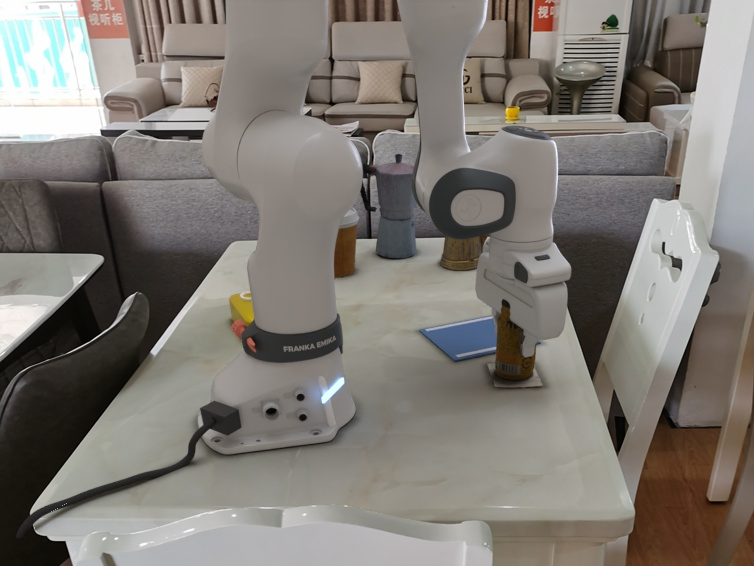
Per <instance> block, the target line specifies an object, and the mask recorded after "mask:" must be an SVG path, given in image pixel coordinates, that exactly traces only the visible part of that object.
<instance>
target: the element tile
mask: <svg viewBox="0 0 754 566" xmlns="http://www.w3.org/2000/svg"><path fill="white" fill-rule="evenodd" d="M228 303H229V309H230V316H231V321H232V322H233V323H234V322H235V321H236V320H242V321H244V322H245V323H246V325H247V326H248V325H249V324H250V323H251V322H252V321H253V319H254V314H253V307H252V300H251V293H250V290H249V291H244V292H240V293H235V294H234V293H233V294H231V295H230V296H229V298H228Z"/></svg>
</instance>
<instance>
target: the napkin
mask: <svg viewBox="0 0 754 566" xmlns="http://www.w3.org/2000/svg"><path fill="white" fill-rule="evenodd" d="M418 331H419V333H421V334H422V335H423V336H424V337H425V338H427V339H428V340H429V341H430V342H431V343H433V345H435V346H436V347H437V348H438V349H440V351H442V352H443V353H444V354H445V355H446V356H448V357H449V358H450V359H451V360H452V361H453V362H455V363H456V362H460V361H465V360H469V359H474V358H479V357H484V356H489V355H492V354H496V343H497V336H495V324H494V320H493V316H492V315H488V316H482V317H477V318H472V319H467V320H462V321H458V322H457V321H456V322H452V323H446V324H441V325H436V326H430V327H425V328H421V329H419V330H418ZM540 344H542V341H541V340H538V341H537V344H536V345H540Z"/></svg>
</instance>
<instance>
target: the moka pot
mask: <svg viewBox="0 0 754 566" xmlns="http://www.w3.org/2000/svg"><path fill="white" fill-rule="evenodd" d="M394 157H395V162H388V163H383V164H381V165H378V164H368V163H365V162H364V163H362V167H363V175H364V174H367V175H369V176H375V182H376V191H377V199H378V200H377V201H378V205H379V209H378V208H377V207H376V206H371V205H370V202H369V200H368V196H367V191H366V187H365V185H364V180H362V187H361V190H360V193H359V194H360V197H361V199H362V203H363V206H364V209H365V211H367V212H371V213H375V212H376V211H377V209H378V210H379V212H380V216H379V221H378V222H379V223H378V228H377V229H378V230H377V237H376V243H375V252H376V254H377V255H379V256H381V257H384V258H388V259H407V258H410V257H411V258H412V257H414V256H415V255H416V253H417V241H416V230H415V225H416V224H415V219H414V216H415V208H416V207H417V205H418V204H417V202H416V200H415V198H414V195H413V191H412V174H413V169H414V165H415V164H412V163H407V162H402V160H403V154H401V153H396V154H394Z"/></svg>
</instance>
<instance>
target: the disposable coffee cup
mask: <svg viewBox="0 0 754 566" xmlns="http://www.w3.org/2000/svg"><path fill="white" fill-rule="evenodd" d="M359 220H360V215H359V214H358V212H357V209H356V208H354V207H352V208H351V209H350V210H349V212H348V213H347V214H345V216H344V217H343V218H342V221H341V224H340V227H339V231H338V235H337V239H336V245H335V252H334V278H342V277H347V276H351V275H353V274H354V273H355V268H356V266H355V265H356V251H357V232H358V231H357V230H358V223H359Z"/></svg>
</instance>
